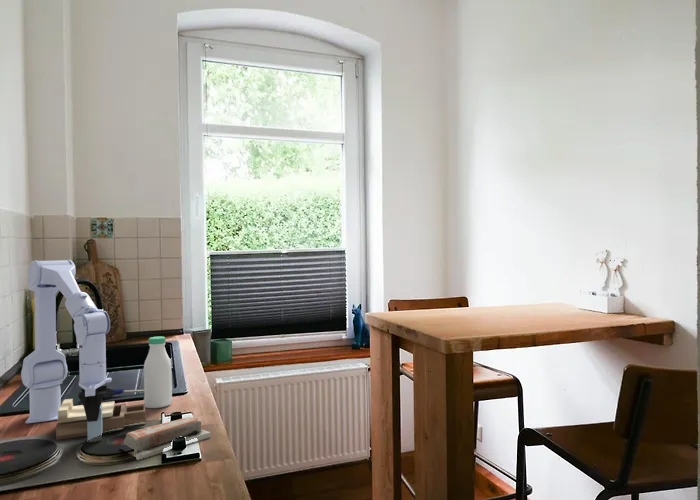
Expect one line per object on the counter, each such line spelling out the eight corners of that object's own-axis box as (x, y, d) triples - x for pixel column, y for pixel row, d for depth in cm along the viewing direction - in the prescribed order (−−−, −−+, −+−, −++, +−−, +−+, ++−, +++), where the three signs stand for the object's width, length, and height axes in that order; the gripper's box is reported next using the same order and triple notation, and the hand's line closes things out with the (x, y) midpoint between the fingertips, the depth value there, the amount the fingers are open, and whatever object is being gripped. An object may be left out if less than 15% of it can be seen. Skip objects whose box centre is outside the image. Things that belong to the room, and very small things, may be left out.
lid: (64, 410, 131) (64, 399, 131) (114, 404, 136) (114, 393, 136) (58, 423, 121) (57, 411, 121) (112, 416, 126) (112, 404, 126)
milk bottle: (177, 403, 148) (176, 336, 148) (154, 410, 142) (153, 340, 142) (161, 399, 152) (160, 334, 152) (138, 406, 146) (137, 338, 146)
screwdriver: (174, 389, 165) (173, 377, 165) (174, 392, 161) (174, 380, 161) (85, 399, 155) (85, 387, 155) (84, 402, 151) (84, 390, 151)
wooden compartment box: (63, 424, 132) (63, 411, 132) (145, 413, 139) (145, 401, 139) (56, 439, 120) (56, 425, 121) (145, 427, 128) (145, 414, 128)
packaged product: (137, 440, 108) (118, 430, 114) (138, 463, 108) (118, 451, 114) (211, 419, 121) (190, 410, 128) (211, 438, 121) (190, 429, 127)
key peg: (88, 439, 121) (88, 406, 121) (102, 437, 122) (102, 404, 122) (87, 443, 118) (87, 410, 118) (101, 441, 119) (101, 408, 119)
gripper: (109, 366, 115) (109, 425, 115) (112, 354, 128) (113, 407, 128) (74, 370, 112) (75, 430, 112) (82, 357, 126) (82, 411, 126)
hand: (93, 418), depth 120 cm, fingers open, 3 cm apart
